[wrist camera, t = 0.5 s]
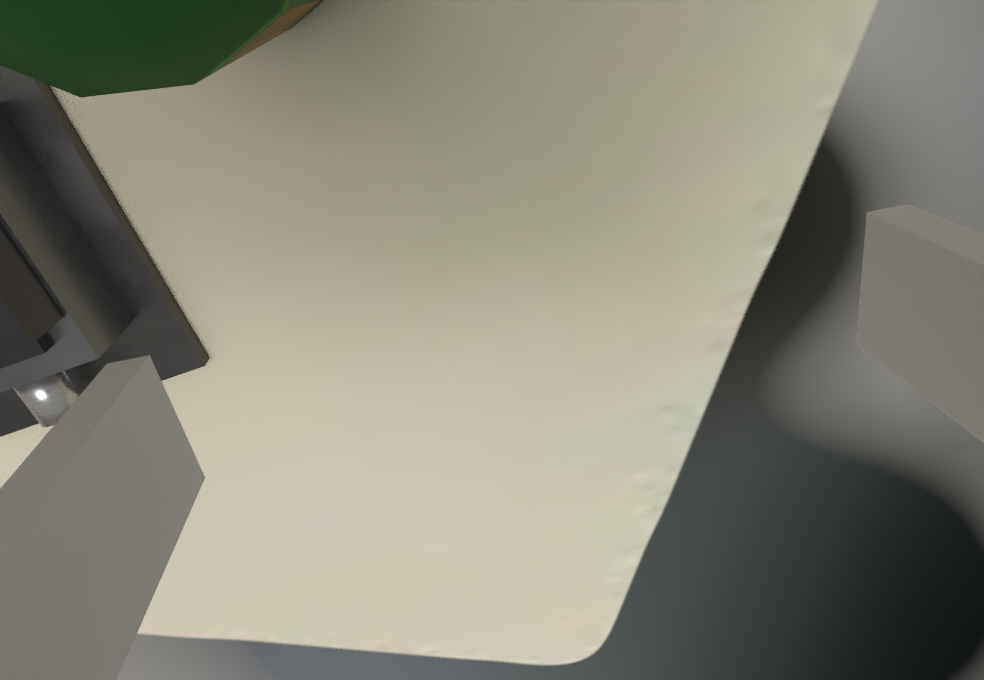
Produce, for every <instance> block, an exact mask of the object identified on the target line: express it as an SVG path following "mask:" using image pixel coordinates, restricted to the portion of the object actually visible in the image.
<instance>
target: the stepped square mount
mask: <svg viewBox="0 0 984 680" xmlns="http://www.w3.org/2000/svg"><path fill="white" fill-rule="evenodd" d="M148 355H150V357H151V359H152V362H153V364H154V366H155V368H156V370H157V373H158V375H159V377H160V379H161V381H162V380H165V379H168V378H171V377H174V376H177V375H180V374H182V373H185V372H188V371H191V370H194V369H197V368H200V367H203V366H205V365H206V363H207V361H208V360H209V356H208V354H207V353H206V351H205V349H204V348H203V346H202V344H201V343H200V341H199V339H198V337H197V336H196V334H195V332H194V331H193V329H192V327H191V326H190V324H189V322H188V321H187V319H186V317H185V315H184V314H183V312H182V310H181V309H180V307H179V305H178V304H177V302H176V300H175V299H174V297H173V295H172V293H171V292H170V290H169V288H168V287H167V285H166V283H165V282H164V280H163V278H162V276H161V275H160V273H159V271H158V270H157V268H156V266H155V265H154V263H153V261H152V260H151V258H150V256H149V254H148V253H147V251H146V249H145V248H144V246H143V244H142V243H141V241H140V239H139V238H138V236H137V234H136V232H135V231H134V229H133V227H132V226H131V224H130V222H129V221H128V219H127V217H126V215H125V214H124V212H123V210H122V209H121V207H120V205H119V204H118V202H117V200H116V199H115V197H114V195H113V193H112V192H111V190H110V188H109V187H108V185H107V183H106V182H105V180H104V178H103V177H102V175H101V173H100V171H99V170H98V168H97V166H96V165H95V163H94V161H93V160H92V158H91V156H90V154H89V153H88V151H87V149H86V148H85V146H84V144H83V143H82V141H81V139H80V138H79V136H78V134H77V132H76V131H75V129H74V127H73V126H72V124H71V122H70V121H69V119H68V117H67V116H66V114H65V112H64V110H63V109H62V107H61V105H60V104H59V102H58V100H57V99H56V97H55V95H54V93H53V92H52V90H51V88H50V87H49V85H48V84H46V83H44V82H41V81H38V80H36V79H33V78H31V77H28V76H26V75H23V74H21V73H18V72H16V71H13V70H11V69H8V68H6V67H3V66H1V65H0V437H1V436H4V435H6V434H9V433H12V432H15V431H18V430H21V429H24V428H27V427H30V426H32V425H35V424H38V423H40V425H41V426H42V427H49V426H52V425H55V424H56V423H57V422H58V420H59V419H60V418H61V417H62V416H63V415H64V413H65V412H66V411H67V410H68V409H69V408H70V406H71V405H72V404H73V403H74V402H75V400H76V399H77V398H78V397H79V396H80V395H81V393H82V392H83V391H84V390H85V389H86V388H87V386H88V385H89V384H90V383H91V382H92V380H93V379H94V378H95V377H96V376H97V375H98V373H99V372H100V371H101V370H102V369H103V368H104V366H105V365H106V364H108V363H113V362H118V361H123V360H128V359H133V358H138V357H143V356H148Z"/></svg>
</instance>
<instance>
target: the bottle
mask: <svg viewBox="0 0 984 680" xmlns="http://www.w3.org/2000/svg"><path fill="white" fill-rule="evenodd" d="M322 1H324V0H0V65H1V66H3V67H6V68H8V69H11V70H13V71H16V72H18V73H21V74H23V75H26V76H28V77H31V78H33V79H36V80H38V81H41V82H44V83H46V84H49V85H51V86H54V87H56V88H59V89H61V90H64V91H66V92H69V93H71V94H74V95H76V96H79V97H87V96H96V95H105V94H114V93H122V92H131V91H140V90H148V89H157V88H166V87H175V86H183V85H192V84H195V83H197V82H199V81H200V80H202V79H204V78H206V77H207V76H209V75H211V74H213V73H214V72H216V71H218V70H219V69H221V68H223V67H225V66H226V65H228V64H230V63H232V62H233V61H235V60H237V59H238V58H240V57H242V56H244V55H245V54H247V53H249V52H251V51H252V50H254V49H256V48H257V47H259V46H261V45H263V44H264V43H266V42H268V41H270V40H271V39H273V38H275V37H276V36H278V35H280V34H282V33H283V32H285V31H287V30H289V29H290V28H292V27H293V26H294V25H295V24H297V23H298V22H299V21H300V20H301V19H302V18H304V17H305V16H306V15H307V14H308V13H309V12H311V11H312V10H313V9H314V8H315V7H316V6H318V5H319V4H320V3H321V2H322Z"/></svg>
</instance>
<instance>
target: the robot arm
mask: <svg viewBox="0 0 984 680" xmlns="http://www.w3.org/2000/svg"><path fill="white" fill-rule="evenodd" d="M856 346H857V347H859V348H860V349H861V350H863V351H864V352H865V353H867V354H868V355H869V356H871V357H872V358H873V359H874V360H876V361H877V362H879V363H880V364H881V365H882V366H884V367H885V368H886V369H888V370H889V371H890V372H892V373H893V374H894V375H895V376H897V377H898V378H899V379H901V380H902V381H903V382H905V383H906V384H907V385H908V386H910V387H911V388H913V389H914V390H915V391H916V392H918V393H919V394H920V395H922V396H923V397H924V398H926V399H927V400H928V401H929V402H931V403H932V404H933V405H935V406H936V407H937V408H939V409H940V410H941V411H943V412H944V413H945V414H946V415H948V416H949V417H950V418H952V419H953V420H954V421H956V422H957V423H958V424H960V425H961V426H962V427H963V428H965V429H966V430H967V431H969V432H970V433H971V434H973V435H974V436H975V437H977V438H978V439H979V440H980V441H982V442H983V443H984V234H981V233H979V232H976V231H974V230H971V229H968V228H966V227H963V226H961V225H958V224H956V223H953V222H951V221H949V220H946V219H944V218H941V217H939V216H936V215H934V214H931V213H929V212H926V211H924V210H921V209H919V208H916V207H913V206H911V205H909V204H907V205H902V206H897V207H892V208H887V209H882V210H876V211H871V212H867V219H866V232H865V243H864V255H863V267H862V279H861V291H860V304H859V315H858V328H857V340H856ZM204 479H205V476H204V474H203V472H202V470H201V468H200V465H199V463H198V461H197V459H196V457H195V454H194V452H193V450H192V448H191V445H190V443H189V441H188V439H187V437H186V434H185V432H184V430H183V428H182V426H181V423H180V421H179V419H178V417H177V415H176V412H175V410H174V408H173V406H172V404H171V401H170V399H169V397H168V395H167V392H166V390H165V388H164V386H163V384H162V381H161V379H160V377H159V375H158V373H157V370H156V368H155V366H154V364H153V362H152V359H151V357H150V355H148V356H143V357H138V358H133V359H128V360H123V361H118V362H113V363H108V364H106V365H105V366H104V368H103V369H102V370H101V371H100V372H99V373H98V375H97V376H96V377H95V378H94V379H93V380H92V382H91V383H90V384H89V385H88V386H87V388H86V389H85V390H84V391H83V392H82V393H81V395H80V396H79V397H78V398H77V399H76V400H75V402H74V403H73V404H72V405H71V406H70V408H69V409H68V410H67V411H66V412H65V413H64V415H63V416H62V417H61V418H60V419H59V420H58V422H57V423H56V424H55V425H54V426H53V428H52V429H51V430H50V431H49V432H48V433H47V435H46V436H45V437H44V438H43V439H42V440H41V442H40V443H39V444H38V445H37V446H36V448H35V449H34V450H33V451H32V452H31V453H30V455H29V456H28V457H27V458H26V459H25V461H24V462H23V463H22V464H21V465H20V466H19V468H18V469H17V470H16V471H15V472H14V473H13V475H12V476H11V477H10V478H9V479H8V481H7V482H6V483H5V484H4V485H3V486H2V488H1V489H0V680H117V678H118V675H119V673H120V671H121V669H122V666H123V664H124V661H125V659H126V657H127V655H128V652H129V650H130V648H131V645H132V643H133V641H134V639H135V636H136V634H137V632H138V630H139V627H140V625H141V623H142V620H143V618H144V616H145V614H146V611H147V609H148V607H149V604H150V602H151V600H152V598H153V595H154V593H155V591H156V588H157V586H158V584H159V582H160V579H161V577H162V575H163V572H164V570H165V568H166V566H167V563H168V561H169V559H170V556H171V554H172V552H173V549H174V547H175V545H176V543H177V540H178V538H179V536H180V533H181V531H182V529H183V527H184V524H185V522H186V520H187V517H188V515H189V513H190V511H191V508H192V506H193V504H194V501H195V499H196V497H197V495H198V492H199V490H200V488H201V485H202V483H203V481H204Z"/></svg>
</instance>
